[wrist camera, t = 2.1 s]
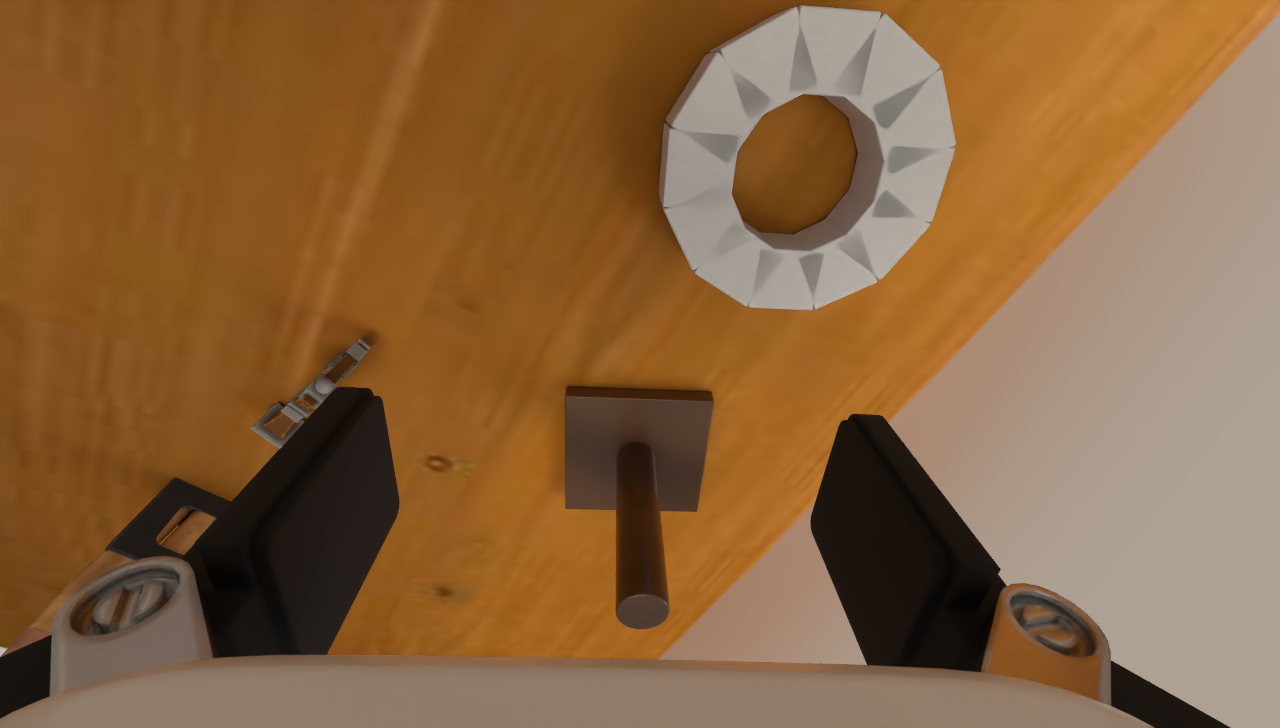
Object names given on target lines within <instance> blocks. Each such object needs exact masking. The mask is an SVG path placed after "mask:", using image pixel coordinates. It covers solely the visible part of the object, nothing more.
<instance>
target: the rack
mask: <svg viewBox="0 0 1280 728" xmlns="http://www.w3.org/2000/svg"><path fill="white" fill-rule="evenodd" d="M713 404H714V401H713V397H712V394H711V392H696V391H668V390H640V389H612V388H584V387H567V389H566V395H565V485H566V509H599V510H616V616H617V618H618V620H619V621H620V622H621V623H622V624H624V625H625V626H627V627H630V628H634V629H649V628H653V627H656V626H658V625H660V624H661V623H663V622H664V621H665V620H666V619H667V617H668V615H669V598H668V588H667V577H666V567H665V556H664V546H663V535H662V525H661V515H660V511H689V512H697V509H698V502H699V496H700V489H701V483H702V476H703V469H704V463H705V456H706V450H707V443H708V436H709V430H710V423H711V417H712V410H713Z"/></svg>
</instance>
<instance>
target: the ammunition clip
mask: <svg viewBox="0 0 1280 728" xmlns="http://www.w3.org/2000/svg"><path fill="white" fill-rule="evenodd" d="M229 504H230V502H228V501H226V500H223V499H221V498H219V497H217V496H214V495H212V494H210V493H207V492H205V491H203V490H201V489H198V488H196V487H194V486H192V485H189V484H187V483H185V482H183V481H180V480H178V479H173V480H171V481H170V483H169V484H168V485H167V486H166V487H165V488H164V489H163V490H162V491H161V492H160V493H159V494H158V495H157V496H156V497H155V498H154V499H153V500H152V501H151V502H150V503H149V504H148V505H147V506H146V507H145V508H144V509H143V510H142V511H141V512H140V513H139V514H138V515H137V516H136V517H135V518H134V519H133V520H132V521H131V522H130V523H129V524H128V525H127V526H126V527H125V528H124V529H123V530H122V531H121V532H120V533H119V534H118V536H117V537H116V538H115V539H114V540H113V541H112V542H111V543H110V544H109V545H108V546H107V547H106V549H105V550H104V551H103V552H102V553H101V554H100V555H99V556H98V557H97V558H95V559H94V560H93V561H92V562H91V563H90V564H89V565H88V566H87V567H86V568H85V569H84V570H83V571H82V572H81V573H79V574H78V575H77V576H76V577H75V578H74V579H73V580H72V581H71V582H70V583H69V584H68V585H67V586H66V587H65V588H64V589H62V590H61V591H60V592H59V593H58V594H57V595H56V596H55V597H54V598H53V600H52V601H51V602H50V603H49V605H48V606H47V607H46V609H45V610H44V611H43V613H42V614H41V615H40V616H39V617H38V618H37V619H36V620H35V621H34V622H33V623H32V624H31V625H30V626H29V627H28V628H27V629H26V630H25V632H24V633H23V634H22V635H21V636H20V637H19V638H18V639H17V640H16V641H15V642H14V643H13V644H12V645H11V646H10V647H9V648H8V649H7V650H6V651H5V653H4V654H2V656H4V655H6V654H9V653H11V652H13V651H15V650H18V649H20V648H22V647H24V646H27V645H29V644H31V643H33V642H36V641H38V640H40V639H42V638H45V637H47V636H49V635H51V634H52V626H53V623H54V620H55V616H56V614H57V612H58V611H59V610H60V608H61V607H62V606H63V604H64V603H65V602H66V600H67V599H68V598H70V597H71V596H72V595H73V594H74V593H75V592H77V591H78V590H79V589H80V588H81V587H82V586H83V585H85V584H87V583H88V582H90V581H92V580H93V579H95V578H96V577H98V576H100V575H101V574H103V573H105V572H107V571H109V570H112V569H114V568H116V567H118V566H121V565H123V564H126V563H129V562H133V561H136V560H140V559H143V558H150V557H158V556H169V557H178V558H180V559H181V558H182V557H183V556H184V555H185V553H186V552H187V551H188V550H189V549H190V548H191V547H192V546H193V545H194V544H195V541H196V540H197V539H198V538H199V537H200V536H201V535H202V534H203V532H204V531H205V530H206V529H207V528H208V527H209V526H210V525H211V524H212V523H213V522H214V520H215V519H216V518H217V517H218V516H219V515H220V514H221V513H222V512H223V511H224V509H225V508H226V507H227V506H228V505H229ZM177 525H179V527H178V528H177V529H176V530H175V531H174V532H173V533H172V534H171V535H170V536H169V537H168V538H167V539H166V540H165V541H164V542H163V543H162V544H161V545H159V543H160V542H161V541H162V540H163V539H164V538H165V537H166V536H167V535H168V534H169V533H170V532H171V531H172V530H173V529H174V528H175V527H176V526H177ZM2 656H1V657H2Z"/></svg>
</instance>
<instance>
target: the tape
mask: <svg viewBox="0 0 1280 728" xmlns="http://www.w3.org/2000/svg"><path fill="white" fill-rule="evenodd" d="M939 67H940V65H939V64H938V63H937V62H936V61H935V60H934V59H933V58H932V57H931V56H930V55H929V54H928V53H927V52H926V51H925V50H924V49H923V48H921V47H920V46H919V45H918V44H917V43H916V42H915V41H914V40H913V39H912V38H911V37H910V36H909V35H908V34H907V33H906V32H905V31H904V30H902V29H901V28H900V27H899V26H898V25H897V24H896V23H895V22H894V21H893V20H892V19H891V18H890V17H889V16H888V15H887V14H886V13H883V14H881V12H879V11H869V10H856V9H844V8H832V7H820V6H807V5H801V6H798V7H793V8H790V9H787V10H785V11H782V12H779V13H777V14H775V15H773V16H771V17H769V18H767V19H766V20H764V21H762V22H760V23H758V24H757V25H755V26H753V27H751V28H749V29H748V30H746V31H744V32H742V33H740V34H739V35H737V36H735V37H733V38H732V39H730V40H728V41H726V42H724V43H723V44H721V45H719V46H717V47H715V48H714V49H712V50H710V52H709V54H706V55H705V57H704V58H703V60H702V61H701V63H700V65H699V66H698V68H697V69H696V71H695V73H694V74H693V76H692V77H691V79H690V81H689V82H688V84H687V85H686V87H685V89H684V90H683V92H682V93H681V95H680V97H679V98H678V100H677V101H676V103H675V105H674V106H673V108H672V109H671V111H670V113H669V114H668V116H667V117H666V121H667V122H668V123H664V128H663V141H662V154H661V166H660V179H659V192H658V193H659V196H660V201H661V204H662V207H663V210H664V212H665V215H666V217H667V219H668V221H669V223H670V225H671V227H672V230H673V232H674V234H675V236H676V238H677V240H678V242H679V244H680V247H681V249H682V251H683V253H684V255H685V257H686V259H687V262H688V264H689V266H690V268H691V269H692V270H693V271H694V273H695V274H696V275H698V276H699V277H701V278H702V279H704V280H705V281H707V282H708V283H710V284H711V285H713V286H715V287H716V288H718V289H719V290H721V291H722V292H724V293H725V294H727V295H728V296H730V297H731V298H733V299H735V300H736V301H738V302H739V303H741V304H742V305H744V306H747V305H748V307H750V308H770V309H792V310H812V309H813V308H814V309H818V308H820V307H822V306H825V305H827V304H829V303H831V302H834V301H836V300H838V299H840V298H843V297H845V296H847V295H849V294H852V293H854V292H856V291H858V290H861V289H863V288H865V287H867V286H870V285H872V284H874V283H876V282H877V278H878V279H879V280H881V279H882V278H883V277H884V276H885V275H886V274H887V273H888V272H889V270H890V269H891V268H892V267H893V266H894V265H895V264H896V263H897V262H898V261H899V259H900V258H901V257H902V256H903V255H904V254H905V253H906V252H907V251H908V249H909V248H910V247H911V246H912V245H913V244H914V243H915V242H916V241H917V240H918V238H919V237H920V236H921V235H922V234H923V233H924V232H925V231H926V230H927V228H928V227H929V226H930V223H928V222H931V221H932V220H933V217H934V214H935V211H936V208H937V205H938V202H939V198H940V195H941V192H942V189H943V186H944V183H945V180H946V177H947V173H948V170H949V167H950V164H951V161H952V158H953V155H954V152H955V148H954V147H952V146H954V145H955V144H956V141H955V136H954V131H953V125H952V120H951V115H950V110H949V105H948V99H947V94H946V89H945V84H944V79H943V73H942V70H941V69H938V68H939ZM802 94H808V95H822V96H823V97H824V98H826V99H827V100H828V101H829V102H830V103H831V104H833V105H834V106H835V107H836V108H837V109H839V110H840V111H841V112H842V113H843V114H845V115H846V116H847V117H848V119H849V122H850V126H851V129H852V133H853V137H854V140H855V144H856V147H857V151H858V155H857V159H856V163H855V168H854V172H853V176H852V180H851V184H850V188H849V190H848V191H847V192H846V194H845V195H844V196H843V197H842V199H841V200H840V201H839V202H838V204H837V205H836V206H835V207H834V208H833V210H832V211H831V212H830V213H829V215H828V216H827V217H826V218H825V219H824V220H822V221H820V222H818V223H816V224H814V225H812V226H810V227H808V228H806V229H803V230H801V231H799V232H797V233H795V234H778V233H760V232H759V231H757V230H756V229H754V228H753V227H752V226H750V225H749V224H747V223H746V222H745V221H743V220H742V218H741V216H740V213H739V211H738V208H737V206H736V203H735V201H734V198H733V196H732V187H733V180H734V173H735V165H736V158H737V151H738V150H739V149H740V147H741V146H742V144H743V143H744V141H745V140H746V139H747V137H748V136H749V134H750V133H751V131H752V130H753V129H754V127H755V126H756V124H757V123H758V121H759V120H760V118H761V117H762V116H763V115H764V114H766V113H767V112H769V111H771V110H773V109H775V108H777V107H779V106H781V105H783V104H785V103H787V102H789V101H790V100H792V99H794V98H796V97H798V96H800V95H802Z"/></svg>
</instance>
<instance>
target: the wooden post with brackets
mask: <svg viewBox="0 0 1280 728" xmlns="http://www.w3.org/2000/svg"><path fill="white" fill-rule="evenodd" d="M374 343H375V342H374V341H373V340H372V339H371V338H369V337H368V336H367V335H364V336H363V337H362V338H360V339H359V340H358V341H357V342H356V343H354V344H353V345H352V346H351V347H350V348H349V349H348V350H347V351H346V352H345V353H344V352H342V351H341V352H340V353H339V354H338V355H337V356H336V357H335V358H334V359H333V360H332V361H331V362H330V363H329V364H328V366H327V367H326V368H325V369H324V370H323V371H322V372H323V373H325V374H326V375H325V376H323V375H322V374H320V376H319V377H318V378H317V379H316V380H315V381H312V382H311V383H310V384H309V385H308V386H307V387H306V388H304V389H302V390H301V391H300V392H299V393H298V394H297V395H296V396H295V397H294V398H293V399H292V400H291V401H290V402H289V403H288V404H287V405H286V406H285V407H283V406H281V405H280V404H278V403H277V404H275V405H274V406H273V407H272V408H271V409H270V410H269V411H268V412H267V413H266V414H265V415H264V416H263V417H262V418H261V419H260V420H259V421H258V422H257V423H256V424H255V425H254V426H252V427H251V428H250V429H251V430H252V431H254V432H255V433H257V434H258V435H260V436H261V437H263V438H265V439H266V440H268V441H269V442H271V443H272V444H274V445H275V446H277V447H278V448H281V447H282V446H283V445H284V444H285V443H286V442H287V441H288V439H289V438H290V437H291V436H292V435H293V434H294V433H295V432H296V431H297V430H298V428H299V427H300V426H301V425H302V424H303V423H304V421H303V420H301V419H302V418H305V417H306V416H307V415H308V414H309V413H310V412H311V411H312V410H313V409H314V408H315V409H316V408H317V407H318V406H319V405H320V404H321V403H322V402H323V401H324V400H325V399H326V398H327V397H328V396H329V395H330V393H331V392H332V391H333V390H334V389H336V388H337V387H338V386H336V385H335V384H336V383H338V382H339V381H340V380H341V379H342V378H343V377H344V378H346V377H347V376H348V375H349V374H350V373H351V372H352V371H353V370H354V369H355V367H356V366H357V365H358V362H359V361H360V360H361V359H362V358H363V357H364V356H365V355H366V353H367V351H368V350H369V349H370V348H371V346H372V345H373V344H374Z"/></svg>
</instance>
